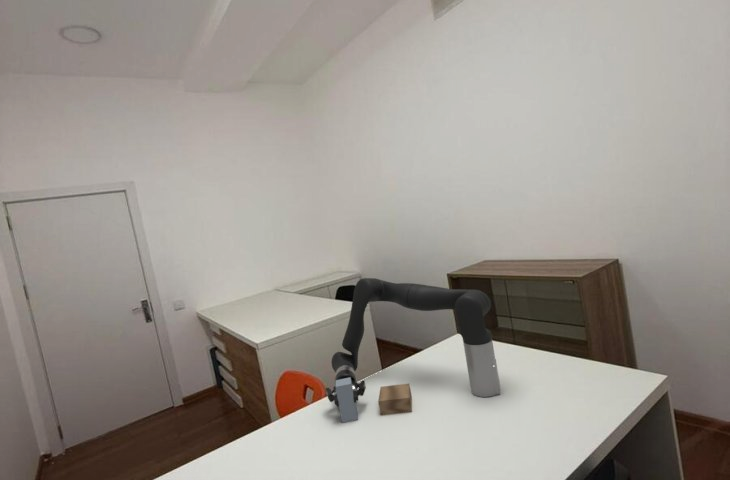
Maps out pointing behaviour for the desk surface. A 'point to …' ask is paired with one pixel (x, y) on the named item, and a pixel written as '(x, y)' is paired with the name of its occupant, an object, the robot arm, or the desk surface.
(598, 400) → the desk surface
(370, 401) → the desk surface
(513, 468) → the desk surface
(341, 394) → the slate pillar
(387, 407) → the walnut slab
